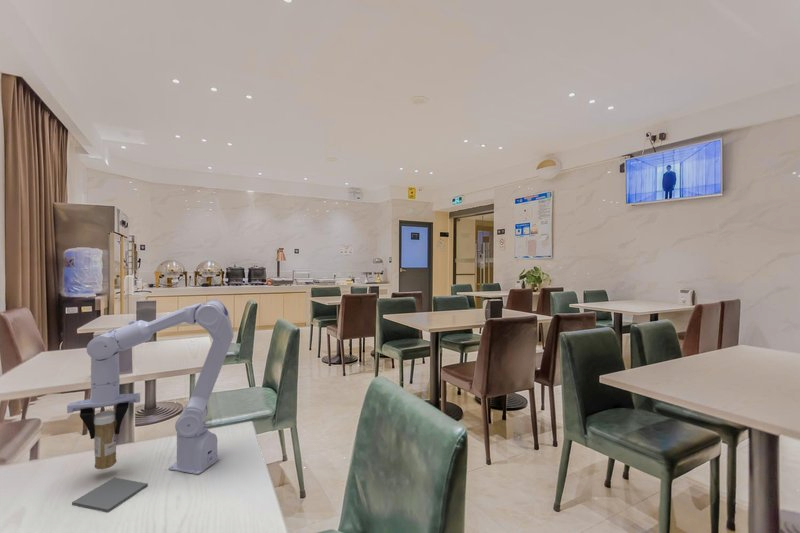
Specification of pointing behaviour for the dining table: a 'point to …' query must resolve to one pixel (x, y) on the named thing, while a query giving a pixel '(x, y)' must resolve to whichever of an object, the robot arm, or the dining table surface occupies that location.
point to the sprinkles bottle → (105, 439)
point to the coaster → (110, 494)
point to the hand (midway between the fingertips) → (105, 434)
